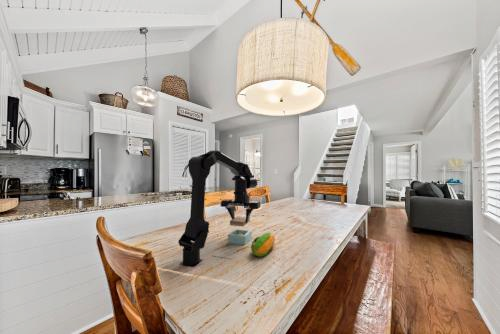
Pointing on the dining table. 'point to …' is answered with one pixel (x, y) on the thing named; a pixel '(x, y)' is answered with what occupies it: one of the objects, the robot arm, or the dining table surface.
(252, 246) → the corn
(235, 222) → the board
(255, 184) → the robot arm
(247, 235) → the dish
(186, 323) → the dining table surface
